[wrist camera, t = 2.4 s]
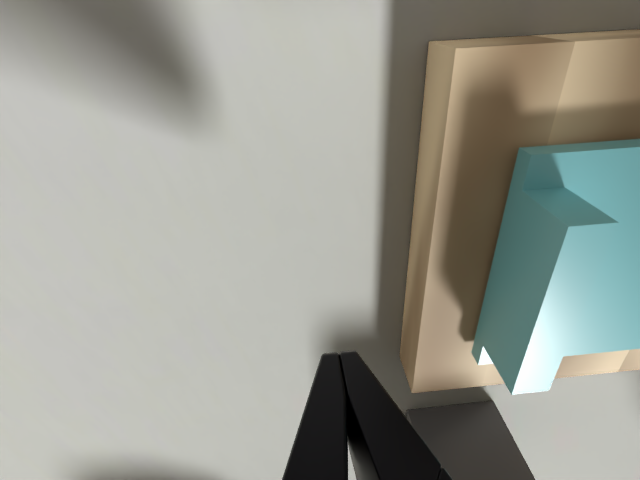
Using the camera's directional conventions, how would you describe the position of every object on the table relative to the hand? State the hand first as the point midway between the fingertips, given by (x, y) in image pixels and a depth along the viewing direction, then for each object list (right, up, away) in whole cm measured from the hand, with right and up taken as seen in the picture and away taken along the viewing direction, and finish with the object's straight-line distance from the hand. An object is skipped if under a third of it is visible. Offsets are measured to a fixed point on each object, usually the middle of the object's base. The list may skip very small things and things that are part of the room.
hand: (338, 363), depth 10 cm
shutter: (+9, +3, +3) cm, 10 cm away
